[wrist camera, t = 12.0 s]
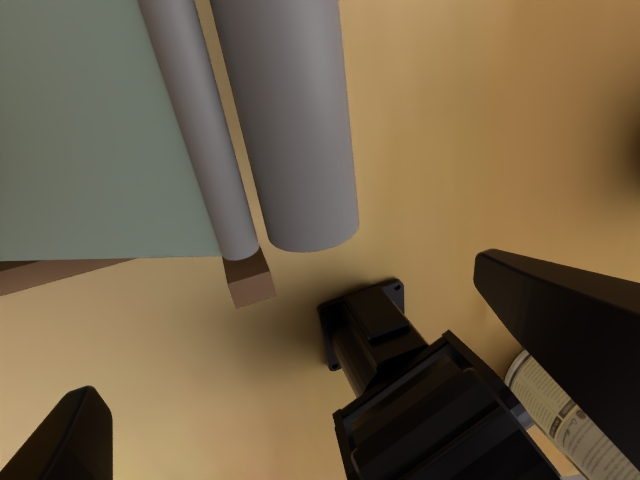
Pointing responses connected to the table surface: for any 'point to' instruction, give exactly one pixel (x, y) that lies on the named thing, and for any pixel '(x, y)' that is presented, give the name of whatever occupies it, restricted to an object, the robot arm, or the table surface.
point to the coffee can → (566, 423)
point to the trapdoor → (170, 129)
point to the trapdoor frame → (242, 275)
